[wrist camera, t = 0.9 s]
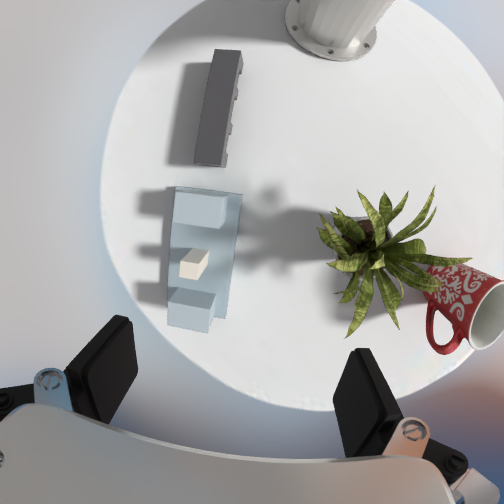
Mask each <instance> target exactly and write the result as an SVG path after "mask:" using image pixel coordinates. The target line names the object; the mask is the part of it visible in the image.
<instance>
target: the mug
mask: <svg viewBox="0 0 504 504" xmlns="http://www.w3.org/2000/svg"><path fill="white" fill-rule="evenodd" d="M427 273H429V274H430V275H432V276H433V277H435V278H436V279H437V280H439V281H440V282H441V283H442V284H443V285H444V286H440V287H434V288H436V289H437V290H439V291H440V292H426V291H423V292H424V295H425V297H426V299H427V300H428V307H427V315H426V335H427V339H428V341H429V343H430V345H431V347H432V348H433V349H434V350H435V351H436V352H437V353H439V354H442V355H447V354H450V353H452V352H453V351H455V350H456V349H457V347H458V346H459V345H460V343H461V341H462V339H463V338H466V339H467V340H468V342H469V344H470V346H471V347H472V348H473V349H476V350H482V349H485V348H487V347H489V346H490V345H492V344H493V343H494V342H495V341H496V340H497V339H498V338H499V337H500V336H501V334H502V333H503V331H504V281H501V280H499V279H497V278H495V277H492V276H490V275H488V274H486V273H483V272H481V271H479V270H476V269H474V268H472V267H469V266H466V265H464V264H462V263H460V264H457V265H454V266H450V267H440V266H433V265H431V266H430V268H429V269H428V271H427ZM429 281H430V280H429ZM431 282H433V281H431ZM433 283H435V282H433ZM442 284H441V285H442ZM436 310H439V311H440V312H441V313H442V314H443V315H444V316H445V317H446V318H447V319H448V320H449V321H450V322H451V323H452V324H453V325H452V328H453V331H454V335H453V338H452V339H451V341H450V342H449V343H447V344H446V345H438V344H436V342H435V340H434V336H433V320H434V314H435V311H436Z"/></svg>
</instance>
